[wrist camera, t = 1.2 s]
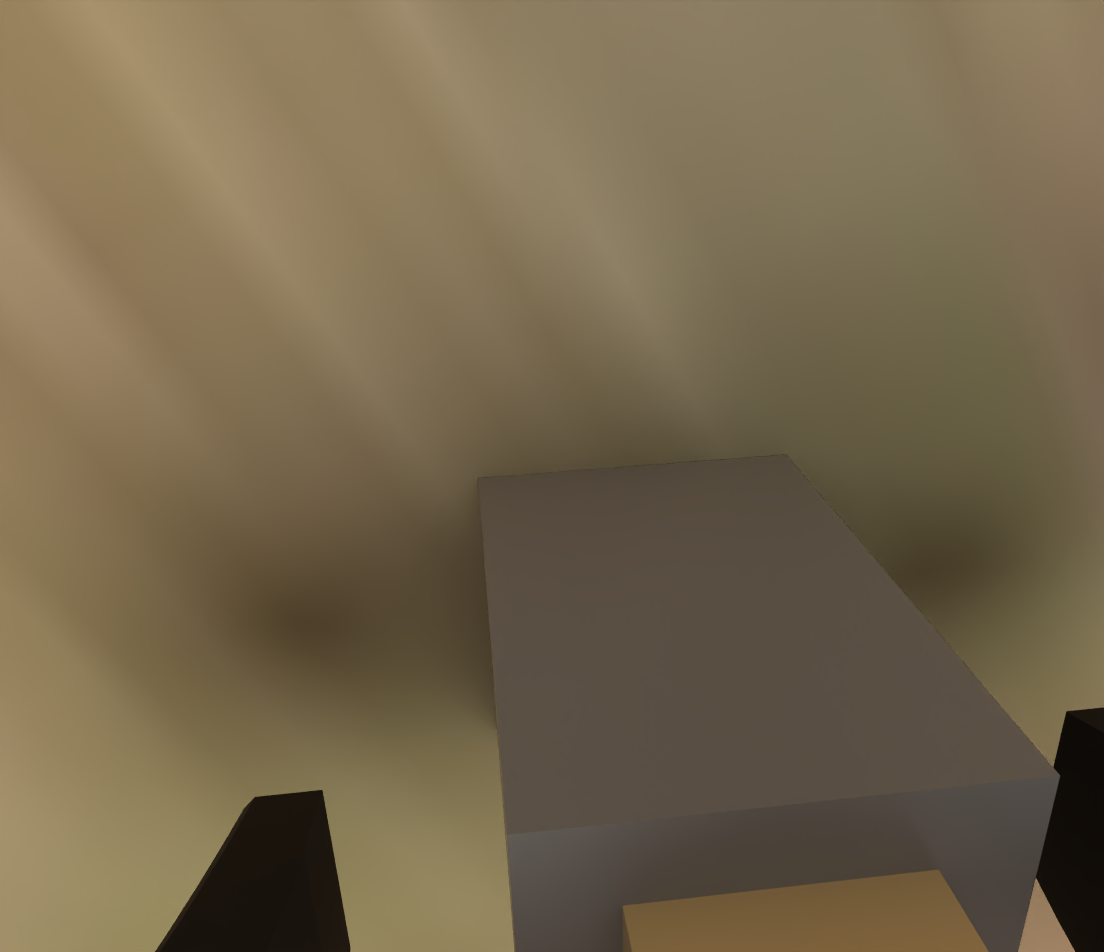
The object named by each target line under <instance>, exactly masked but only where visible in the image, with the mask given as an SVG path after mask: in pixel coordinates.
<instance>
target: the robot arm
mask: <svg viewBox="0 0 1104 952" xmlns="http://www.w3.org/2000/svg"><path fill="white" fill-rule="evenodd" d="M1053 768H1054V769H1055V770H1056V771H1057V772H1058V774H1059V775H1060V778H1059V782H1058V787H1057V791H1056V795H1055V799H1054V803H1053V808H1052V812H1051V816H1050V820H1049V824H1048V828H1047V833H1046V837H1045V841H1044V845H1043V849H1042V853H1041V858H1040V862H1039V866H1038V870H1037V874H1036V878H1037V880H1038V882H1039V884H1040V886H1041V888H1042V890H1043V892H1044V894H1045V896H1046V898H1047V900H1048V902H1049V904H1050V906H1051V908H1052V910H1053V912H1054V913H1055V915H1056V917H1057V919H1058V921H1059V923H1060V925H1061V927H1062V929H1063V930H1064V932H1065V934H1066V936H1067V937H1068V939H1069V941H1070V943H1071V945H1072V946H1073V948H1074V950H1075V952H1104V708H1094V709H1085V710H1075V711H1066V715H1065V720H1064V724H1063V728H1062V733H1061V737H1060V741H1059V746H1058V750H1057V754H1056V759H1055V763H1054V767H1053ZM155 952H350V943H349V937H348V932H347V926H346V920H345V915H344V909H343V903H342V898H341V892H340V887H339V881H338V875H337V870H336V864H335V858H334V853H333V847H332V841H331V836H330V830H329V825H328V819H327V813H326V808H325V802H324V796H323V791H322V790H317V791H308V792H298V793H289V794H279V795H270V796H260V797H255V798H254V799H253V800H252V801H251V802H250V803H249V804H248V805H247V806H246V807H245V808H244V810H243V811H242V813H241V815H240V816H239V818H238V820H237V822H236V823H235V825H234V827H233V828H232V830H231V832H230V833H229V835H228V837H227V838H226V840H225V842H224V843H223V845H222V847H221V848H220V850H219V852H218V854H217V855H216V857H215V858H214V860H213V862H212V863H211V865H210V867H209V868H208V870H207V872H206V873H205V875H204V876H203V878H202V880H201V881H200V883H199V885H198V886H197V888H196V889H195V891H194V892H193V894H192V896H191V897H190V899H189V900H188V902H187V903H186V905H185V907H184V908H183V910H182V911H181V913H180V914H179V916H178V918H177V919H176V921H175V922H174V924H173V925H172V927H171V929H170V930H169V932H168V933H167V935H166V936H165V938H164V939H163V941H162V942H161V944H160V945H159V947H158V948H157V950H156V951H155Z"/></svg>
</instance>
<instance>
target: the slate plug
mask: <svg viewBox="0 0 1104 952" xmlns="http://www.w3.org/2000/svg"><path fill="white" fill-rule="evenodd" d="M478 485H479V499H480V512H481V525H482V538H483V551H484V564H485V578H486V591H487V604H488V617H489V630H490V643H491V657H492V670H493V683H494V696H495V709H496V722H497V735H498V748H499V761H500V773H501V786H502V799H503V811H504V824H505V837H506V849H507V862H508V874H509V887H510V900H511V912H512V925H513V938H514V950H515V952H1018V949H1019V945H1020V941H1021V937H1022V933H1023V929H1024V924H1025V920H1026V916H1027V912H1028V908H1029V904H1030V899H1031V895H1032V891H1033V887H1034V883H1035V878H1036V874H1037V870H1038V866H1039V862H1040V858H1041V853H1042V849H1043V845H1044V841H1045V837H1046V833H1047V828H1048V824H1049V820H1050V816H1051V812H1052V808H1053V803H1054V799H1055V795H1056V791H1057V787H1058V782H1059V778H1060V775H1059V774H1058V772H1057V771H1056V770H1055V769H1054V768H1053V767H1052V765H1051V764H1050V763H1049V762H1048V761H1047V760H1046V758H1045V757H1044V756H1043V755H1042V754H1041V753H1040V751H1039V750H1038V749H1037V748H1036V747H1035V746H1034V744H1033V743H1032V742H1031V741H1030V740H1029V739H1028V737H1027V736H1026V735H1025V734H1024V733H1023V732H1022V730H1021V729H1020V728H1019V727H1018V726H1017V724H1016V723H1015V722H1014V721H1013V720H1012V719H1011V717H1010V716H1009V715H1008V714H1007V713H1006V712H1005V710H1004V709H1003V708H1002V707H1001V706H1000V705H999V703H998V702H997V701H996V700H995V699H994V698H993V696H992V695H991V694H990V693H989V692H988V691H987V689H986V688H985V687H984V686H983V685H982V684H981V682H980V681H979V680H978V679H977V678H976V676H975V675H974V674H973V673H972V672H971V671H970V669H969V668H968V667H967V666H966V665H965V664H964V662H963V661H962V660H961V659H960V658H959V657H958V655H957V654H956V653H955V652H954V651H953V650H952V648H951V647H950V646H949V645H948V644H947V643H946V641H945V640H944V639H943V638H942V637H941V636H940V634H939V633H938V632H937V631H936V630H935V628H934V627H933V626H932V625H931V624H930V623H929V621H928V620H927V619H926V618H925V617H924V616H923V614H922V613H921V612H920V611H919V610H918V609H917V607H916V606H915V605H914V604H913V603H912V602H911V600H910V599H909V598H908V597H907V596H906V595H905V593H904V592H903V591H902V590H901V589H900V587H899V586H898V585H897V584H896V583H895V582H894V580H893V579H892V578H891V577H890V576H889V575H888V573H887V572H886V571H885V570H884V569H883V568H882V566H881V565H880V564H879V563H878V562H877V561H876V559H875V558H874V557H873V556H872V555H871V554H870V552H869V551H868V550H867V549H866V548H865V547H864V545H863V544H862V543H861V542H860V541H859V539H858V538H857V537H856V536H855V535H854V534H853V532H852V531H851V530H850V529H849V528H848V527H847V525H846V524H845V523H844V522H843V521H842V520H841V518H840V517H839V516H838V515H837V514H836V513H835V511H834V510H833V509H832V508H831V507H830V506H829V504H828V503H827V502H826V501H825V500H824V499H823V497H822V496H821V495H820V494H819V493H818V491H817V490H816V489H815V488H814V487H813V486H812V484H811V483H810V482H809V481H808V480H807V479H806V477H805V476H804V475H803V474H802V473H801V472H800V470H799V469H798V468H797V467H796V466H795V465H794V463H793V462H792V461H791V460H790V459H789V458H788V456H787V455H773V456H760V457H747V458H734V459H721V460H707V461H694V462H681V463H668V464H655V465H642V466H629V467H615V468H602V469H589V470H576V471H563V472H550V473H537V474H523V475H510V476H497V477H484V478H478Z"/></svg>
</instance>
